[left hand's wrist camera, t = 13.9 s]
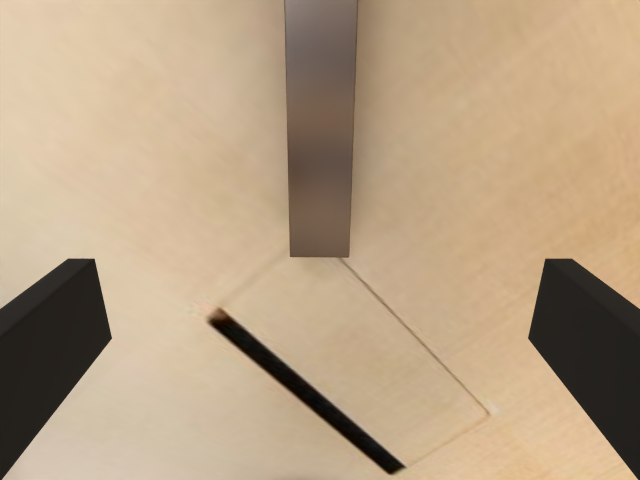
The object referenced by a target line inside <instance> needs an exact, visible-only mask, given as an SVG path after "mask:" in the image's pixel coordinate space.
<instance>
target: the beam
mask: <svg viewBox="0 0 640 480" xmlns="http://www.w3.org/2000/svg"><path fill="white" fill-rule="evenodd" d="M284 3H285V49H286V94H287V140H288V185H289V231H290V257H349V245H350V216H351V187H352V158H353V130H354V101H355V72H356V43H357V14H358V0H284Z"/></svg>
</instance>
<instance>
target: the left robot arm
mask: <svg viewBox="0 0 640 480" xmlns="http://www.w3.org/2000/svg"><path fill="white" fill-rule="evenodd" d="M111 339H112V337H111V332H110V328H109V323H108V318H107V314H106V309H105V305H104V300H103V295H102V291H101V286H100V282H99V277H98V273H97V268H96V263H95V259H67V260H66V261H64V262H63V263H62V264H60V265H59V266H58V267H56V268H55V269H54V270H52V271H51V272H50V273H48V274H47V275H46V276H44V277H43V278H42V279H40V280H39V281H37V282H36V283H35V284H33V285H32V286H31V287H29V288H28V289H27V290H25V291H24V292H23V293H21V294H20V295H19V296H17V297H16V298H15V299H13V300H12V301H11V302H9V303H8V304H7V305H5V306H4V307H2V308H1V309H0V480H2V479H3V477H4V476H5V475H6V474H7V472H8V471H9V470H10V468H11V467H12V466H13V465H14V463H15V462H16V461H17V459H18V458H19V457H20V456H21V454H22V453H23V452H24V450H25V449H26V448H27V447H28V445H29V444H30V443H31V441H32V440H33V439H34V438H35V436H36V435H37V434H38V433H39V431H40V430H41V429H42V427H43V426H44V425H45V424H46V422H47V421H48V420H49V418H50V417H51V416H52V415H53V413H54V412H55V411H56V409H57V408H58V407H59V406H60V404H61V403H62V402H63V400H64V399H65V398H66V397H67V395H68V394H69V393H70V391H71V390H72V389H73V388H74V386H75V385H76V384H77V383H78V381H79V380H80V379H81V377H82V376H83V375H84V374H85V372H86V371H87V370H88V368H89V367H90V366H91V365H92V363H93V362H94V361H95V359H96V358H97V357H98V356H99V354H100V353H101V352H102V350H103V349H104V348H105V347H106V345H107V344H108V343H109V341H110V340H111ZM528 339H529V340H530V342H531V343H532V344H533V345H534V347H535V348H536V349H537V350H538V352H539V353H540V354H541V356H542V357H543V358H544V359H545V361H546V362H547V363H548V365H549V366H550V367H551V368H552V370H553V371H554V372H555V374H556V375H557V376H558V377H559V379H560V380H561V381H562V383H563V384H564V385H565V386H566V388H567V389H568V390H569V391H570V393H571V394H572V395H573V397H574V398H575V399H576V400H577V402H578V403H579V404H580V406H581V407H582V408H583V409H584V411H585V412H586V413H587V415H588V416H589V417H590V418H591V420H592V421H593V422H594V424H595V425H596V426H597V427H598V429H599V430H600V431H601V433H602V434H603V435H604V436H605V438H606V439H607V440H608V441H609V443H610V444H611V445H612V447H613V448H614V449H615V450H616V452H617V453H618V454H619V456H620V457H621V458H622V459H623V461H624V462H625V463H626V465H627V466H628V467H629V468H630V470H631V471H632V472H633V474H634V475H635V476H636V477H637V479H638V480H640V309H639V308H638V307H636V306H635V305H633V304H632V303H631V302H629V301H628V300H627V299H625V298H624V297H623V296H621V295H620V294H619V293H617V292H616V291H615V290H613V289H612V288H611V287H609V286H608V285H607V284H605V283H604V282H603V281H601V280H600V279H598V278H597V277H596V276H594V275H593V274H592V273H590V272H589V271H588V270H586V269H585V268H584V267H582V266H581V265H580V264H578V263H577V262H576V261H574V260H573V259H545V263H544V268H543V273H542V277H541V282H540V286H539V291H538V295H537V300H536V305H535V309H534V314H533V318H532V323H531V328H530V332H529V337H528Z"/></svg>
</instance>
